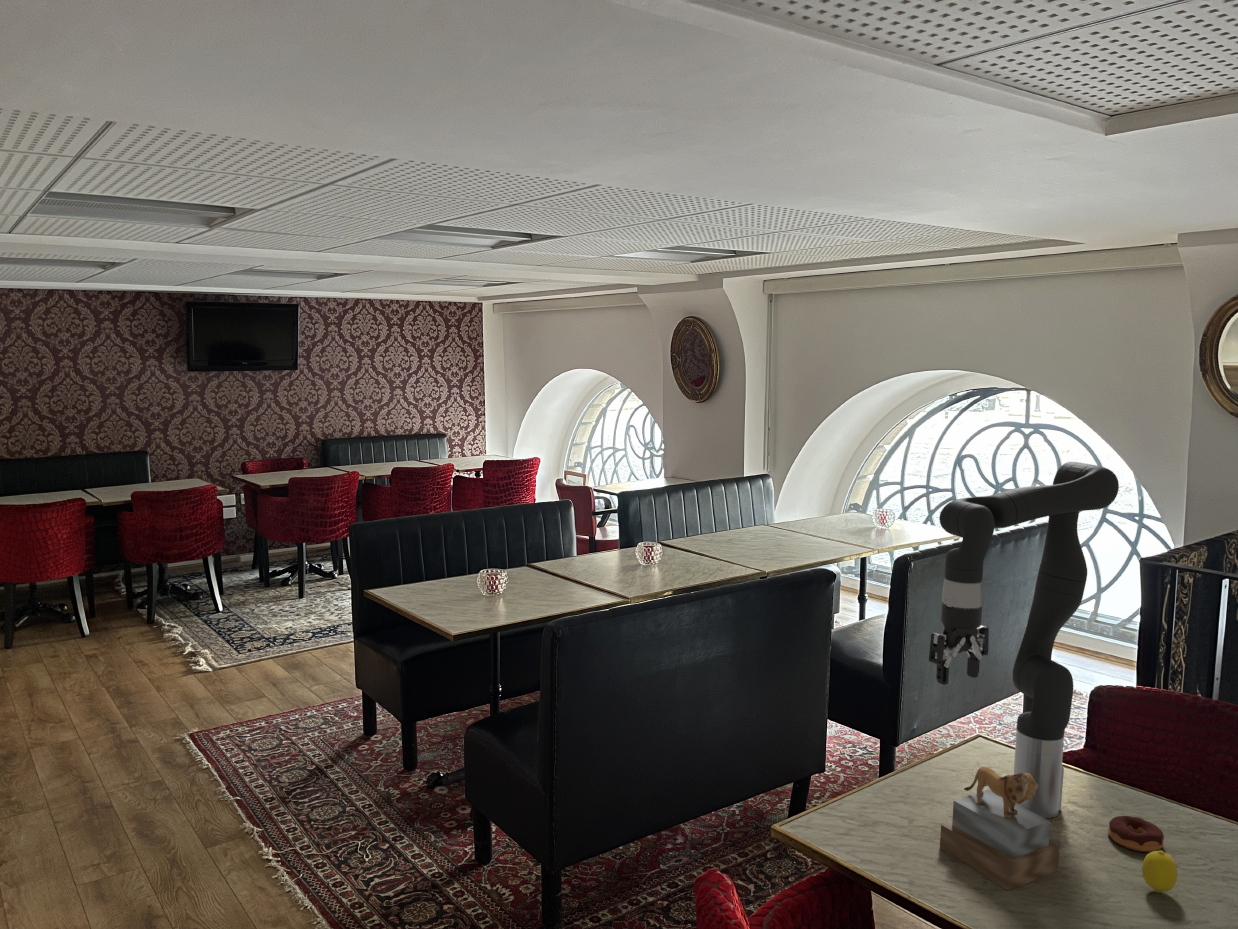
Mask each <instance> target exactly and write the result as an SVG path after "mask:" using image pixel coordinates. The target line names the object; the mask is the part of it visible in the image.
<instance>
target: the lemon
mask: <svg viewBox="0 0 1238 929" xmlns="http://www.w3.org/2000/svg"><path fill="white" fill-rule="evenodd" d="M1141 875H1142V878H1143V880H1144V881H1145V883H1146V884H1147V886H1148V887H1150V888H1151V889H1152V890H1154V891H1155V893H1157V894H1158V893H1159V894H1160V893H1162V892H1168V891H1170V890H1172V889H1173V888H1174V887H1175V886H1176V884H1177V881H1178V867H1177V865H1176V863H1175V861H1174V859H1173V858H1172V857H1171V855H1169V854H1168V853H1166V852H1164V851H1163V850H1161V849H1159V850H1156V851H1150V852H1148V854H1146V856H1145V857H1144V859H1143V862H1142V866H1141Z"/></svg>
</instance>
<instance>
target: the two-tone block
mask: <svg viewBox="0 0 1238 929" xmlns="http://www.w3.org/2000/svg"><path fill="white" fill-rule="evenodd" d="M982 791H983V792H984V794H983V795H981V799H982V800H983V801H984V804H979V803H978V802H977V792H975V793H972V794H969V795H967V796H964V797H960V798H957V799H954V800H953V804H952V805H953V806H952V820H950V821H948V822H945V823H941V824H940V833H939V834H940V838H939V849H940V850H942V851H943V852H945V853H946V854H948V855H950V856H951V857H953V858H954V859H956V860H957V861H959V862H961V863H963V864H964V865H965V866H968V867H969V868H971V869H973V870H974V871H976V872H977V873H978V874H981V875H982V876H984V877H985V878H987V879H989V880H991V882H994V883H995V884H997V885H998V886H1000V887H1002V888H1003V889H1004V890H1006V891H1010V890H1013V889H1015V888H1018V887H1021V886H1023V885H1025V884H1028V883H1031V882H1033V881H1034V882H1035V881H1036V880H1038V879H1041V878H1043V877H1046V876H1049V875H1052V874H1054V873H1056V872H1059V867H1060V865H1059V863H1060V854H1061V853H1060V852H1061V845H1059V844H1057V843H1056V842H1053V840H1050V830H1051V820H1049V819H1048V818H1043V817H1042V816H1040V815H1038V814H1036V813H1034V812H1032V811H1030V810H1028V809H1026V808H1024V807H1022V806H1020V805H1018V804H1015V806H1014V809H1016V810H1017V811H1018V812H1017V814H1014V813H1011V812H1010V810H1009V812H1010V815H1011V818H1005V817H1004V804H1003V797H1000V796H998V795H996V794H994V793H993V792H992V791H991V790H990V788H989V789H985V790H982Z"/></svg>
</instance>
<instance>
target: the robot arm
mask: <svg viewBox="0 0 1238 929" xmlns="http://www.w3.org/2000/svg"><path fill="white" fill-rule="evenodd" d="M1119 488H1120V483H1119V480H1118V477H1117V475H1116V474H1115V472H1114V471H1112V470H1110V469H1109V468H1107V467H1105V466H1100V465H1096V464H1091V463H1084V462H1078V461H1067V462H1065V463H1063V464H1062V465H1061V466H1060V467H1059V468H1058V469H1057V471H1056V473H1055V476H1054V478H1053V481H1052V484H1050V485H1049V484H1048V485H1046V484H1045V485H1034V486H1032V485H1031V486H1023V487H1021V486H1020V487H1017V488H1016V487H1015V488H1011V489H1008V490H1003V491H1001V492H996V493H994V494H991V495H982V496H980V495H979V496H972V497H971V496H970V497H962V498H959V499H953V500H952V501H950V502H948V503H946V505H944V506H943V508H942V509H941V511H940V513H939V524H940V526H941V528H942V529H943V530H944V532H946V533H948V534H950V535H952V536H955V537H959V538H962V541H961V544H960V547H956V548H951V549H949V550H948V552H947V553H946V556H945V562H944V563H945V564H944V565H945V567H944V580H943V584H942V585H943V586H942V594H941V596H942V597H941V613H940V614H941V616H940V622H941V623H942V625H943V626H944V629H943V631H942V633H936V632H932V633H931V634H930V644H929V653H928V662H930V663H933V664H936V681H937V683H938V684H941V685H943V686H945V685H949V678H950V677H949V675H950V674H949V673H950V667H949V665H950V664H951V661H952V660H953V659H955V658H956V657H957V655H958V654H961V653H962V652H966V654H967V655H968V657H967V663H966V664H967V666H966V674H967V676H968V677H969V678H970V677H971V678H974V679H975V678H978V677H979V674H980V665H981V664H980V661H981V659H982V658H983V656H988V655H989V643H990V642H989V637H990V636H989V635H990V634H989V633H990V631H989V630H990V628H989V627H988V626H985V625H982V615H983V600H984V588H983V574H984V561H985V558H986V555H987V553H988V550H989V547H990V544H991V541H992V538H993V536H994V532H995V529H1005V528H1009V527H1013V526H1017V525H1020V524H1024V523H1026V522H1030V521H1034V520H1037V519H1040V518H1041V519H1042V518H1045V517H1048V521H1047V530H1046V536H1045V538H1044V539H1045V540H1044V546H1043V552H1042V554H1041V555H1042V556H1041V561H1040V564H1039V567H1038V571H1037V572H1038V573H1037V576H1036V581H1035V587H1034V592H1033V598H1032V602H1031V607H1030V610H1029V615H1028V619H1027V623H1026V627H1025V631H1024V633H1023V637H1022V641H1021V643H1020V645H1019V649H1018V652H1017V655H1016V658H1015V661H1014V665H1013V668H1012V681H1013V685H1014V686H1015V689H1017V691H1019V692H1020V693H1022V694H1023V695H1025V696H1027V698H1030V699H1031V700H1032V703H1031V711H1025V712H1022V713H1020V714H1019V715H1018V716H1017V720H1016V733H1015V734H1016V735H1015V747H1014V749H1015V750H1014V764H1013V775H1014V774H1019V773H1022V772H1023V773H1026V772H1027V773H1029V774H1031V775H1032V777H1033V779H1034V780H1035V782H1036V783H1037V784H1038V789H1037V790H1036V791H1035V792H1036V793H1035V795H1034V796H1033V798H1031V799H1030V800H1026V801H1024V802H1023V803H1021V804H1018V805H1020V806H1022V807H1024V808H1026V809H1028V810H1030V811H1032V812H1034V813H1036V814H1038V815H1040V816H1042V817H1043V818H1045V819H1051V818H1052V819H1053V818H1055V817H1057V816H1058V814H1059V811H1060V810H1061V809H1062V798H1063V797H1062V796H1063V788H1064V787H1063V784H1064V772H1065V771H1064V770H1065V769H1064V766H1063V756H1064V742H1065V741H1064V740H1065V731H1066V728H1067V726H1068V725H1069V722H1070V719H1071V710H1072V704H1073V698H1074V679H1073V675H1072V673H1071V671H1070V669H1068V668H1067V667H1065V666H1064V665H1062V664H1060V663H1058V662H1056V661H1054V660H1052V656H1053V655H1052V654H1053V649H1054V644H1055V641H1056V639H1057V636H1058V635H1059V634H1058V633H1059V632H1060V630H1062V628H1063V626H1064V625H1065V624H1066V623H1067V622H1068V621H1069V620H1070V619H1071V617H1072V616H1073V615H1074V614H1075V613H1076V612H1077V610H1078V609H1079V607H1080V605H1081V603H1082V600H1083V598H1084V595H1085V594H1084V593H1085V588H1086V584H1087V579H1088V578H1087V577H1088V566H1087V562H1086V557H1085V555H1084V554H1085V553H1084V551H1083V549H1082V545H1081V543H1080V538H1079V533H1078V521H1079V516H1080V512H1084V511H1085V512H1086V511H1095V510H1102V509H1105V508H1107V507H1109V506H1110V505H1112V503H1113V502H1114V501H1115V499H1116V498H1117V497H1118V496H1117V495H1118V494H1119ZM981 645H982V646H981ZM947 649H948V650H947ZM936 655H937V656H936ZM945 656H946V657H945ZM944 657H945V658H944ZM1016 804H1017V803H1016Z"/></svg>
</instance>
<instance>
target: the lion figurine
mask: <svg viewBox="0 0 1238 929" xmlns="http://www.w3.org/2000/svg"><path fill="white" fill-rule="evenodd" d="M975 773H976V774H975V775H974V779H973V781H972V783H971V785H970V786H967V787H964V788H963V790H964V791H966V792H968V791H970V790H972V789H973V788H974V787H975V785H976V784H977V786H976V793H977V802H978V803H979V804H984V801H983V800H982V799H981V795H983V794H984V792H983V791H984V788H985V787H987V786H988V788H989V790H991V791H992V792H993V793H994V794H996V795H998V796H1000V797H1003V804H1004V817H1005V818H1011V815H1010V812H1011V813H1014V814H1017V812H1018V811H1017V810H1016V809H1014V806H1015V804H1016V803H1017V804H1021V803H1023V802H1024V801H1026V800H1030V799H1031V798H1033V796H1034V795H1035V793H1036V792H1035V791H1036V790H1037V789H1038V784H1037V783H1036V782H1035V780H1034V779H1033V777H1032V775H1031V774H1029V773H1027V772H1026V773H1023V772H1022V773H1019V774H1014V773H1013V774H1009V775H1008V774H1006V775H1005V776H1001V775H999V774H997V773H996V772H995V771H994V770H993V769H992V768H990V767H986V766H981V767H979V768H978V769H977V771H976V772H975ZM1009 810H1010V812H1009Z"/></svg>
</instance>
